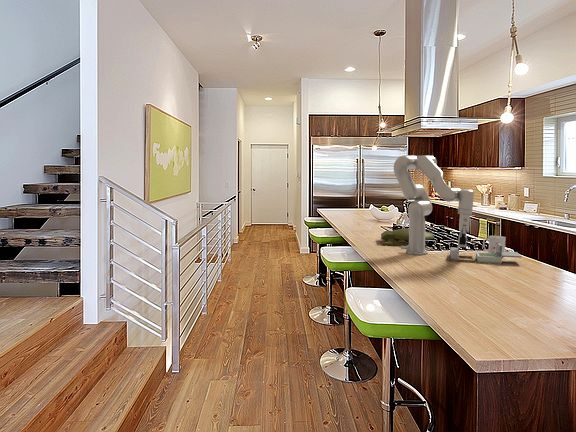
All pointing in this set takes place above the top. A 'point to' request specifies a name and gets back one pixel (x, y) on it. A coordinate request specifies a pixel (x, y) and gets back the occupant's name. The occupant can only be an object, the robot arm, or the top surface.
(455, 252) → the stone
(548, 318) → the top surface
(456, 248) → the stone
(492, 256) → the bin
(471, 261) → the tray
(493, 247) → the mug
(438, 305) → the top surface
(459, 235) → the stone
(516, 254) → the bin lid
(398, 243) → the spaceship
